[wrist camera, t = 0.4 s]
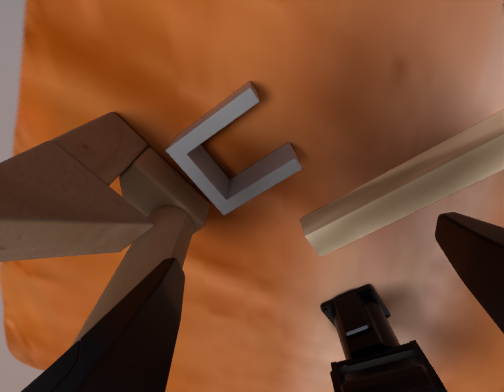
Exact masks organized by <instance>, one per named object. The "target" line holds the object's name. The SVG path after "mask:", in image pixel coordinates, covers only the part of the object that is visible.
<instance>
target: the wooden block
mask: <svg viewBox="0 0 504 392" xmlns="http://www.w3.org/2000/svg"><path fill="white" fill-rule="evenodd" d="M119 175H120V176H119ZM118 176H119V179H120V185H121V191H122V197H121V196H120V195H119V194H118V193H116V192H115V191H114V190H113V189H112V188H110V187H109V185H110V184H111V183H112V182H113V181H114V180H115V179H116V178H117V177H118ZM209 206H210V204H209V202H208V201H207V200H206V199H205V198H204V197H203V196H201V195H200V194H199V193H198V192H197V191H196V190H195V189H194V188H193V187H192V186H191V185H190V184H189V183H188V182H187V181H186V180H185V179H184V178H183V177H181V176H180V175H179V174H178V173H177V172H176V171H175V170H174V169H173V168H172V167H171V166H170V165H169V164H168V163H167V162H166V161H165V160H164V159H163V158H161V157H160V156H159V155H158V154H157V153H156V152H155V151H154V150H153V149H152V148H147V144H146V142H145V141H144V140H143V139H142V138H141V137H140V136H139V135H138V134H136V133H135V132H134V131H133V130H132V129H131V128H130V127H129V126H128V125H127V124H126V123H125V122H124V121H123V120H122V119H121V118H120V117H119V116H118V115H116V114H115V113H113V112H110V113H107V114H105V115H103V116H101V117H99V118H97V119H95V120H92V121H90V122H88V123H86V124H84V125H82V126H80V127H77V128H75V129H73V130H71V131H69V132H67V133H65V134H62V135H60V136H58V137H56V138H54V139H52V140H49V141H46V142H44V143H42V144H40V145H38V146H36V147H33V148H31V149H29V150H27V151H25V152H23V153H20V154H18V155H16V156H14V157H12V158H10V159H8V160H5V161H3V162H1V163H0V262H3V261H15V260H27V259H40V258H52V257H64V256H76V255H88V254H101V253H113V252H121V251H122V250H123V249H125V248H126V247H127V246H129V245H130V244H131V243H132V242H133V243H132V244H131V246H130V248H129V249H128V251H127V253H126V255H125V256H124V258H123V260H122V261H121V263H120V265H119V266H118V268H117V270H116V271H115V273H114V275H113V276H112V278H111V280H110V282H109V283H108V285H107V287H106V288H105V290H104V292H103V293H102V295H101V297H100V298H99V300H98V302H97V304H96V305H95V307H94V309H93V310H92V312H91V314H90V315H89V317H88V319H87V320H86V322H85V324H84V326H83V327H82V329H81V331H80V332H79V334H78V336H77V337H76V339H75V341H74V342H73V344H72V346H73V345H74V344H75V343H76V342H77V341H78V340H80V339H81V337H82V336H83V335H84V334H85V333H86V332H87V331H89V330H90V329H91V328H92V327H93V326H94V325H95V324H96V323H97V322H98V321H99V320H100V319H101V318H102V317H103V316H104V315H106V314H107V313H108V312H109V311H110V310H111V309H112V308H113V307H114V306H115V305H116V304H117V303H118V302H119V301H120V300H121V299H123V298H124V297H125V296H126V295H127V294H128V293H129V292H130V291H131V290H132V289H133V288H134V287H135V286H136V285H137V284H138V283H139V282H141V281H142V280H143V279H144V278H145V277H146V276H147V275H148V274H149V273H150V272H151V271H152V270H153V269H154V268H155V267H156V266H158V265H159V264H160V263H161V262H162V261H163V260H164V259H166V258H173V257H175V258H177V259H178V261H179V263H180V265H181V268H182V267H183V264H184V260H185V257H186V254H187V250H188V247H189V244H190V240H191V237H192V235H193V234H194V233H195V232H197V231H198V230H200V229H201V228H202V227H204V225H205V222H206V218H207V214H208V210H209ZM72 346H71V347H72Z"/></svg>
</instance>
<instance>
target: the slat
mask: <svg viewBox="0 0 504 392" xmlns="http://www.w3.org/2000/svg"><path fill="white" fill-rule="evenodd" d="M502 170H504V109H503V110H501V111H499V112H497V113H495V114H494V115H492V116H490V117H488V118H486V119H484V120H482V121H481V122H479V123H477V124H475V125H473V126H471V127H469V128H468V129H466V130H464V131H462V132H460V133H458V134H456V135H455V136H453V137H451V138H449V139H447V140H445V141H443V142H442V143H440V144H438V145H436V146H434V147H432V148H430V149H429V150H427V151H425V152H423V153H421V154H419V155H417V156H416V157H414V158H412V159H410V160H408V161H406V162H404V163H403V164H401V165H399V166H397V167H395V168H393V169H391V170H390V171H388V172H386V173H384V174H382V175H380V176H378V177H377V178H375V179H373V180H371V181H369V182H367V183H365V184H363V185H362V186H360V187H358V188H356V189H354V190H352V191H350V192H349V193H347V194H345V195H343V196H341V197H339V198H337V199H336V200H334V201H332V202H330V203H328V204H326V205H324V206H323V207H321V208H319V209H317V210H315V211H313V212H311V213H310V214H308V215H306V216H304V217H302V218H300V222H301V225H302V228H303V232H304V235H305V237H306V238H307V240H308V241H309V243H310V244H311V245H312V247H313V248H314V249H315V251H316V252H317V253H318V255H319V256H320V257H322V256H324V255H326V254H328V253H330V252H332V251H334V250H337V249H339V248H341V247H343V246H345V245H347V244H349V243H351V242H353V241H355V240H357V239H360V238H362V237H364V236H366V235H368V234H370V233H372V232H374V231H376V230H378V229H380V228H383V227H385V226H387V225H389V224H391V223H393V222H395V221H397V220H399V219H401V218H403V217H405V216H408V215H410V214H412V213H414V212H416V211H418V210H420V209H422V208H424V207H426V206H428V205H431V204H433V203H435V202H437V201H439V200H441V199H443V198H445V197H447V196H449V195H451V194H454V193H456V192H458V191H460V190H462V189H464V188H466V187H468V186H470V185H472V184H474V183H477V182H479V181H481V180H483V179H485V178H487V177H489V176H491V175H493V174H495V173H497V172H499V171H502Z"/></svg>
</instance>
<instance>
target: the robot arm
mask: <svg viewBox="0 0 504 392" xmlns="http://www.w3.org/2000/svg"><path fill="white" fill-rule="evenodd" d="M435 238H436V240H437V242H438V244H439V245H440V247H441V249H442V250H443V252H444V253H445V255H446V256H447V258H448V260H449V261H450V263H451V264H452V266H453V267H454V269H455V271H456V272H457V274H458V275H459V277H460V278H461V280H462V281H463V282H464V284H465V285H466V286H467V288H468V289H469V290H470V292H471V293H472V294H473V295H474V297H475V298H476V299H477V300H478V302H479V303H480V304H481V305H482V307H483V308H484V309H485V311H486V312H487V313H488V314H489V316H490V317H491V318H492V319H493V321H494V322H495V323H496V324H497V326H498V327H499V328H500V329H501V331H502V332H503V333H504V228H502V227H499V226H496V225H493V224H490V223H487V222H484V221H480V220H477V219H474V218H471V217H468V216H465V215H462V214H459V213H455V212H450V213H444V214H440V215H439V216H438V220H437V225H436V231H435ZM184 283H185V275H184V272H183V270H182V268H181V265H180V263H179V261H178V259H177V258H175V257H173V258H166V259H164V260H163V261H162V262H161V263H160V264H159V265H158V266H156V267H155V268H154V269H153V270H152V271H151V272H150V273H149V274H148V275H147V276H146V277H145V278H144V279H143V280H142V281H141V282H139V283H138V284H137V285H136V286H135V287H134V288H133V289H132V290H131V291H130V292H129V293H128V294H127V295H126V296H125V297H124V298H123V299H121V300H120V301H119V302H118V303H117V304H116V305H115V306H114V307H113V308H112V309H111V310H110V311H109V312H108V313H107V314H106V315H104V316H103V317H102V318H101V319H100V320H99V321H98V322H97V323H96V324H95V325H94V326H93V327H92V328H91V329H90V330H89V331H87V332H86V333H85V334H84V335H83V336H82V337H81V339H80V340H78V341H77V342H76V343H75V344H74V345H73V346H72V347H70V348H69V349H68V350H67V351H66V352H65V353H64V354H63V355H62V356H61V357H60V358H59V359H57V360H56V361H55V362H54V363H53V364H52V365H51V366H50V367H49V368H48V369H46V370H45V371H44V372H43V373H42V374H41V375H40V376H38V377H37V378H36V379H35V380H34V381H33V382H31V383H30V384H29V385H28V386H27V387H26V388H24V389H23V390H22V391H21V392H165V390H166V385H167V381H168V376H169V372H170V367H171V362H172V358H173V353H174V349H175V344H176V339H177V335H178V330H179V325H180V320H181V312H182V302H183V293H184ZM321 310H322V312H323V313H324V314H325V315H326V316H327V318H328V319H329V320H330V321H331V322H332V323H333V325H334V326H335V327H336V329H337V333H338V336H339V339H340V342H341V345H342V348H343V352H344V355H345V358H346V360H343V361H340V362H332V363H331V367H332V371H331V372H330V375H331V379H332V383H333V387H334V392H447V390H446V389H445V387H444V385H443V383H442V382H441V380H440V378H439V377H438V375H437V374H436V372H435V370H434V369H433V367H432V366H431V364H430V363H429V361H428V359H427V358H426V356H425V355H424V353H423V351H422V350H421V348H420V347H419V345H418V344H417V342H416V340H413V341H410V343H406V344H403V345H400V344H399V342H398V340H397V338H396V336H395V334H394V332H393V330H392V328H391V326H390V324H389V322H388V320H387V318H389V317H390V316H391V315H390V313H389V311H388V310H387V308H386V307H385V305H384V304H383V302H382V301H381V299H380V298H379V296H378V295H377V293H376V291H375V290H374V288H373V287H372V286H371V285H367V286H364V287H362V288H360V289H357V290H355V291H353V292H350V293H348V294H346V295H343V296H341V297H339V298H336V299H334V300H331V301H329V302H327V303H324V304H322V305H321Z"/></svg>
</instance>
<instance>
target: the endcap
mask: <svg viewBox="0 0 504 392" xmlns="http://www.w3.org/2000/svg"><path fill="white" fill-rule="evenodd" d="M258 102H259V97H258V93H257V91H256V90H255V88H254V87H253V85H252V84H251V82H250V81H249V82H248V83H246V84H245V85H244V86H242V87H241V88H240V89H238V90H237V91H236V92H234V93H233V94H232V95H231V96H229V97H228V98H227V99H225V100H224V101H223V102H221V103H220V104H219V105H217V106H216V107H215V108H213V109H212V110H211V111H209V112H208V113H207V114H205V115H204V116H203V117H201V118H200V119H199V120H197V121H196V122H195V123H193V124H192V125H191V126H189V127H188V128H187V129H185V130H184V131H183V132H181V133H180V134H179V135H177V137H176V138H175V139H174V140H173V142H172V143H171V144H170V145H169V147H168V148H167V149H166V150H165V151H166V152H167V153H168V154H169V155H170V156H171V157H172V158H173V160H174V161H175V162H176V163H177V164H178V165H179V166H180V167H181V168H182V170H183V171H184V172H185V173H186V174H187V175H188V176H189V177H190V178H191V179H192V181H193V182H194V183H195V184H196V185H197V186H198V187H199V188H200V189H201V191H202V192H203V193H204V194H205V195H206V196H207V197H208V198H209V199H210V201H211V202H212V203H213V204H214V205H215V206H216V207H217V208H218V209H219V211H220V212H221V213H222V214H223V215H226V214H227V213H229V212H231V211H232V210H234V209H236V208H237V207H239V206H241V205H242V204H244V203H246V202H247V201H249V200H251V199H252V198H254V197H256V196H257V195H259V194H261V193H262V192H264V191H266V190H268V189H269V188H271V187H273V186H274V185H276V184H278V183H279V182H281V181H283V180H284V179H286V178H288V177H289V176H291V175H293V174H294V173H296V172H298V171H299V170H301V169H302V167H301V164H300V162H299V160H298V158H297V156H296V153H295V151H294V150H293V148H292V147H291V145H290V143H289V142H287V143H286V144H284V145H283V146H281V147H280V148H278V149H276V150H275V151H273V152H272V153H270V154H269V155H267V156H266V157H264V158H262V159H261V160H259V161H258V162H256V163H255V164H253V165H252V166H250V167H248V168H247V169H245V170H244V171H242V172H241V173H239V174H238V175H236V176H234V177H233V178H231V179H230V180H229V179H228V178H227V176H226V175H225V174H224V173H223V171H222V170H221V169H220V168H219V167H218V165H217V164H216V163H215V162H214V160H213V159H212V158H211V157H210V156H209V154H208V153H207V152H206V151H205V149H204V148H203V147H202V146H201V145H200V144H201V143H202V142H204V141H205V140H207V139H208V138H209V137H211V136H212V135H214V134H215V133H216V132H218V131H219V130H221V129H222V128H223V127H225V126H226V125H228V124H229V123H230V122H232V121H233V120H235V119H236V118H237V117H239V116H240V115H242V114H243V113H244V112H246V111H247V110H248V109H250V108H251V107H253V106H254V105H255V104H257V103H258Z"/></svg>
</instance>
